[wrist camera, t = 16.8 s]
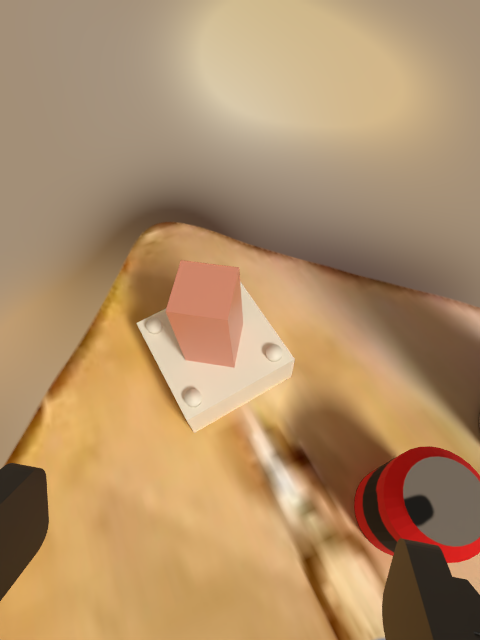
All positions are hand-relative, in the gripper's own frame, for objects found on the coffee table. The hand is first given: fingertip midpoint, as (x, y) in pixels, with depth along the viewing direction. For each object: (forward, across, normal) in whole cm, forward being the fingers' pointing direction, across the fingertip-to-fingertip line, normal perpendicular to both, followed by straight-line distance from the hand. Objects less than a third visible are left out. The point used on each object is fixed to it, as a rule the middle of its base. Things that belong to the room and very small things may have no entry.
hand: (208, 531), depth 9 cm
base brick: (+35, +6, +11) cm, 37 cm away
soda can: (+26, -13, +20) cm, 36 cm away
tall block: (+32, +6, +8) cm, 33 cm away
